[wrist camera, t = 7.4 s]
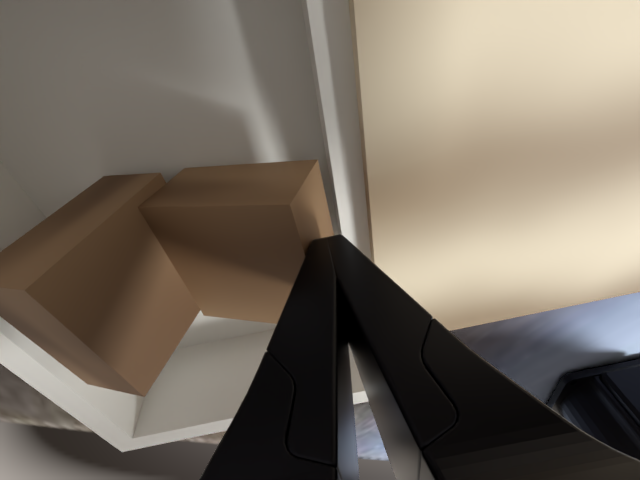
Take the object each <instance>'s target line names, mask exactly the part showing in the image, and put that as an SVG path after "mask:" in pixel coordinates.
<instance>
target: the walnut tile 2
mask: <svg viewBox="0 0 640 480" xmlns="http://www.w3.org/2000/svg"><path fill="white" fill-rule="evenodd" d="M138 209H139V211H140V212H141V214H142V215H143V217H144V219H145V220H146V222H147V224H148V225H149V227H150V228H151V230H152V232H153V233H154V235H155V237H156V238H157V240H158V241H159V243H160V245H161V246H162V248H163V250H164V251H165V253H166V255H167V256H168V258H169V259H170V261H171V263H172V264H173V266H174V268H175V269H176V271H177V272H178V274H179V276H180V277H181V279H182V281H183V282H184V284H185V285H186V287H187V289H188V290H189V292H190V294H191V295H192V297H193V298H194V300H195V302H196V303H197V305H198V307H199V308H200V310H201V312H202V313H203V315H204V316H211V317H220V318H229V319H238V320H247V321H256V322H265V323H273V324H277V322H278V320H279V318H280V315H281V313H282V311H283V308H284V306H285V303H286V301H287V299H288V296H289V294H290V292H291V289H292V287H293V284H294V282H295V280H296V277H297V275H298V273H299V270H300V268H301V265H302V263H303V261H304V258H305V256H306V253H307V251H308V249H309V246H310V244H311V242H312V240H314V239H318V238H323V237H328V236H333V235H334V232H333V227H332V223H331V218H330V214H329V209H328V204H327V200H326V195H325V191H324V186H323V181H322V177H321V172H320V168H319V163H318V159H317V160H301V161H286V162H270V163H255V164H239V165H223V166H208V167H192V168H184V169H183V170H182V171H180V172H179V173H178V174H177V175H176V176H174V177H173V178H172V179H171V180H170V181H168V182H167V183H166V184H165V185H164V186H162V187H161V188H160V189H159V190H158V191H156V192H155V193H154V194H153V195H152V196H150V197H149V198H148V199H147V200H146V201H144V202H143V203H142V204H141V205H140V206H138Z"/></svg>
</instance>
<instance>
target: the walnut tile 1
mask: <svg viewBox="0 0 640 480" xmlns="http://www.w3.org/2000/svg"><path fill="white" fill-rule="evenodd" d="M165 184H166V182H165V180H164V178H163V176H162V175H161V173H145V174H129V175H113V176H103V177H102V178H101V179H99V180H98V181H96V182H95V183H94V184H92V185H91V186H90V187H88V188H87V189H86V190H84V191H83V192H81V193H80V194H79V195H77V196H76V197H75V198H73V199H72V200H71V201H69V202H68V203H66V204H65V205H64V206H62V207H61V208H60V209H58V210H57V211H56V212H54V213H53V214H51V215H50V216H49V217H47V218H46V219H45V220H43V221H42V222H41V223H39V224H38V225H36V226H35V227H34V228H32V229H31V230H30V231H28V232H27V233H26V234H24V235H23V236H21V237H20V238H19V239H17V240H16V241H15V242H13V243H12V244H11V245H9V246H8V247H6V248H5V249H4V250H2V251H1V252H0V317H1V318H3V319H4V320H5V321H7V322H8V323H9V324H10V325H12V326H13V327H14V328H16V329H17V330H18V331H19V332H21V333H22V334H23V335H25V336H26V337H27V338H28V339H30V340H31V341H32V342H34V343H35V344H36V345H37V346H39V347H40V348H41V349H43V350H44V351H45V352H46V353H48V354H49V355H50V356H52V357H53V358H54V359H55V360H57V361H58V362H59V363H61V364H62V365H63V366H64V367H66V368H67V369H68V370H70V371H71V372H72V373H73V374H75V375H76V376H77V377H79V378H80V379H81V380H83V381H84V382H85V383H86V384H88V385H93V386H97V387H102V388H106V389H111V390H115V391H120V392H124V393H129V394H133V395H137V396H142V397H145V396H146V394H147V393H148V391H149V390H150V388H151V387H152V385H153V383H154V382H155V380H156V379H157V377H158V376H159V374H160V373H161V371H162V369H163V368H164V366H165V365H166V363H167V362H168V360H169V358H170V357H171V355H172V354H173V352H174V351H175V349H176V348H177V346H178V344H179V343H180V341H181V340H182V338H183V337H184V335H185V333H186V332H187V330H188V329H189V327H190V326H191V324H192V323H193V321H194V319H195V318H196V316H197V315H198V313H199V312H200V308H199V307H198V305H197V303H196V302H195V300H194V298H193V297H192V295H191V294H190V292H189V290H188V289H187V287H186V285H185V284H184V282H183V281H182V279H181V277H180V276H179V274H178V272H177V271H176V269H175V268H174V266H173V264H172V263H171V261H170V259H169V258H168V256H167V255H166V253H165V251H164V250H163V248H162V246H161V245H160V243H159V241H158V240H157V238H156V237H155V235H154V233H153V232H152V230H151V228H150V227H149V225H148V224H147V222H146V220H145V219H144V217H143V215H142V214H141V212H140V211H139V209H138V206H140V205H141V204H142V203H143V202H144V201H146V200H147V199H148V198H149V197H150V196H152V195H153V194H154V193H155V192H156V191H158V190H159V189H160V188H161V187H162V186H164V185H165Z"/></svg>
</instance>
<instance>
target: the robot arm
mask: <svg viewBox="0 0 640 480" xmlns="http://www.w3.org/2000/svg"><path fill="white" fill-rule="evenodd" d="M348 343H349V344H348ZM349 346H350V349H351V352H352V354H353V357H354V360H355V363H356V366H357V369H358V372H359V375H360V378H361V380H362V383H363V386H364V389H365V392H366V395H367V398H368V401H369V404H370V406H371V409H372V412H373V415H374V418H375V421H376V424H377V427H378V430H379V432H380V435H381V438H382V441H383V444H384V447H385V450H386V453H387V456H388V458H389V461H390V464H391V467H392V470H393V473H394V476H395V479H396V480H640V359H637V360H632V361H627V362H623V363H618V364H613V365H608V366H603V367H598V368H593V369H588V370H584V371H579V372H574V373H570V374H567V375H565V376H563V377H562V378H561V380H560V382H559V384H558V385H557V387H556V389H555V391H554V393H553V394H552V396H551V398H550V400H549V402H548V403H547V405H546V404H544V403H543V402H542V401H540V400H539V399H537V398H536V397H535V396H533V395H532V394H531V393H529V392H528V391H526V390H525V389H524V388H522V387H521V386H520V385H518V384H517V383H515V382H514V381H513V380H511V379H510V378H509V377H507V376H506V375H504V374H503V373H502V372H500V371H499V370H498V369H496V368H495V367H494V366H492V365H491V364H490V363H488V362H487V361H486V360H484V359H483V358H482V357H480V356H479V355H478V354H476V353H475V352H474V351H472V350H471V349H470V348H469V347H468V346H466V345H465V344H464V343H463V342H462V341H460V340H459V339H458V338H457V337H456V336H455V335H453V334H452V333H451V332H450V331H449V330H448V329H447V328H445V327H444V326H443V325H442V324H441V323H440V322H439V321H438V320H437V319H435V318H433V316H432V315H431V314H430V313H429V312H428V311H426V310H425V309H424V308H423V307H422V306H421V305H420V304H419V303H418V302H416V301H415V300H414V299H413V298H412V297H411V296H410V295H409V294H408V293H406V292H405V291H404V290H403V289H402V288H401V287H400V286H399V285H398V284H397V283H395V282H394V281H393V280H392V279H391V278H390V277H389V276H388V275H387V274H385V273H384V272H383V271H382V270H381V269H380V268H379V267H378V266H377V265H375V264H374V263H373V262H372V261H371V260H370V259H369V258H368V257H367V256H365V255H364V254H363V253H362V252H361V251H360V250H359V249H358V248H357V247H355V246H354V245H353V244H352V243H351V242H350V241H349V240H348V239H347V238H345V237H344V236H343V235H341V234H338V235H333V236H328V237H323V238H318V239H314V240H312V242H311V244H310V246H309V249H308V251H307V253H306V256H305V258H304V261H303V263H302V265H301V268H300V270H299V273H298V275H297V277H296V280H295V282H294V284H293V287H292V289H291V292H290V294H289V296H288V299H287V301H286V303H285V306H284V308H283V311H282V313H281V315H280V318H279V320H278V322H277V325H276V327H275V330H274V332H273V334H272V337H271V339H270V342H269V344H268V346H267V349H266V350H267V352H265V353H264V355H263V358H262V360H261V363H260V365H259V367H258V370H257V372H256V374H255V376H254V378H253V381H252V383H251V385H250V387H249V389H248V391H247V394H246V396H245V397H244V399H243V401H242V403H241V405H240V407H239V409H238V411H237V413H236V414H235V416H234V418H233V420H232V422H231V424H230V426H229V427H228V429H227V431H226V433H225V434H224V436H223V438H222V440H221V442H220V443H219V445H218V447H217V449H216V451H215V452H214V454H213V456H212V458H211V459H210V461H209V463H208V465H207V467H206V468H205V470H204V472H203V474H202V476H201V478H200V479H199V480H359V468H358V455H357V443H356V431H355V418H354V406H353V394H352V381H351V369H350V357H349Z"/></svg>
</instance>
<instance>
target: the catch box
mask: <svg viewBox="0 0 640 480" xmlns="http://www.w3.org/2000/svg"><path fill="white" fill-rule="evenodd" d="M317 159H318V163H319V168H320V172H321V177H322V181H323V186H324V191H325V195H326V200H327V204H328V209H329V214H330V218H331V223H332V227H333V232H334V235H338V234H341V235H343V236H344V237H345V238H347V239H348V240H349V241H350V242H351V243H352V244H353V245H354V246H355V247H357V248H358V249H359V250H360V251H361V252H362V253H363V254H364V255H365V256H367V257H368V258H369V259H370V260H371V251H370V240H369V228H368V217H367V205H366V194H365V183H364V171H363V160H362V149H361V137H360V126H359V114H358V103H357V92H356V80H355V69H354V58H353V46H352V35H351V23H350V12H349V1H348V0H0V252H1V251H2V250H4V249H5V248H6V247H8V246H9V245H11V244H12V243H13V242H15V241H16V240H17V239H19V238H20V237H21V236H23V235H24V234H26V233H27V232H28V231H30V230H31V229H32V228H34V227H35V226H36V225H38V224H39V223H41V222H42V221H43V220H45V219H46V218H47V217H49V216H50V215H51V214H53V213H54V212H56V211H57V210H58V209H60V208H61V207H62V206H64V205H65V204H66V203H68V202H69V201H71V200H72V199H73V198H75V197H76V196H77V195H79V194H80V193H81V192H83V191H84V190H86V189H87V188H88V187H90V186H91V185H92V184H94V183H95V182H96V181H98V180H99V179H101V178H102V177H103V176H113V175H129V174H145V173H161V175H162V176H163V178H164V180H165V182H166V183H167V182H168V181H170V180H171V179H172V178H173V177H174V176H176V175H177V174H178V173H179V172H180V171H182V170H183V169H184V168H192V167H208V166H223V165H239V164H255V163H270V162H286V161H301V160H317ZM276 325H277V324H273V323H265V322H256V321H247V320H238V319H229V318H220V317H211V316H204V315H203V313H202V312H201V310H200V312H199V313H198V315H197V316H196V318H195V319H194V321H193V323H192V324H191V326H190V327H189V329H188V330H187V332H186V333H185V335H184V337H183V338H182V340H181V341H180V343H179V344H178V346H177V348H176V349H175V351H174V352H173V354H172V355H171V357H170V358H169V360H168V362H167V363H166V365H165V366H164V368H163V369H162V371H161V373H160V374H159V376H158V377H157V379H156V380H155V382H154V383H153V385H152V387H151V388H150V390H149V391H148V393H147V394H146V396H145V397H142V396H137V395H133V394H129V393H124V392H120V391H115V390H111V389H106V388H102V387H97V386H93V385H88V384H86V383H85V382H84V381H83V380H81V379H80V378H79V377H77V376H76V375H75V374H73V373H72V372H71V371H70V370H68V369H67V368H66V367H64V366H63V365H62V364H61V363H59V362H58V361H57V360H55V359H54V358H53V357H52V356H50V355H49V354H48V353H46V352H45V351H44V350H43V349H41V348H40V347H39V346H37V345H36V344H35V343H34V342H32V341H31V340H30V339H28V338H27V337H26V336H25V335H23V334H22V333H21V332H19V331H18V330H17V329H16V328H14V327H13V326H12V325H10V324H9V323H8V322H7V321H5V320H4V319H3V318H1V317H0V364H2V365H3V366H5V367H6V368H7V369H9V370H10V371H11V372H13V373H14V374H15V375H17V376H18V377H20V378H21V379H22V380H24V381H25V382H26V383H28V384H29V385H31V386H32V387H33V388H35V389H36V390H37V391H39V392H40V393H42V394H43V395H44V396H46V397H47V398H48V399H50V400H51V401H53V402H54V403H55V404H57V405H58V406H59V407H61V408H62V409H64V410H65V411H66V412H68V413H69V414H70V415H72V416H73V417H74V418H76V419H77V420H79V421H80V422H81V423H83V424H84V425H85V426H87V427H88V428H90V429H91V430H92V431H94V432H95V433H96V434H98V435H99V436H101V437H102V438H103V439H105V440H106V441H108V442H109V443H110V444H112V445H113V446H114V447H116V448H117V449H118V450H120V451H121V452H124V451H129V450H134V449H139V448H144V447H148V446H154V445H158V444H163V443H167V442H173V441H178V440H183V439H188V438H193V437H197V436H202V435H207V434H212V433H217V432H222V431H227V429H228V427H229V426H230V424H231V422H232V420H233V418H234V416H235V414H236V413H237V411H238V409H239V407H240V405H241V403H242V401H243V399H244V397H245V396H246V394H247V391H248V389H249V387H250V385H251V383H252V381H253V378H254V376H255V374H256V372H257V370H258V367H259V365H260V363H261V360H262V358H263V355H264V353H265V352H267V350H266V349H267V346H268V344H269V342H270V339H271V337H272V334H273V332H274V330H275V327H276ZM348 344H349V343H348ZM349 357H350V369H351V381H352V394H353V404H358V403H363V402H368V398H367V395H366V392H365V389H364V386H363V383H362V380H361V378H360V375H359V372H358V369H357V366H356V363H355V360H354V357H353V354H352V352H351V349H350V346H349Z"/></svg>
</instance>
